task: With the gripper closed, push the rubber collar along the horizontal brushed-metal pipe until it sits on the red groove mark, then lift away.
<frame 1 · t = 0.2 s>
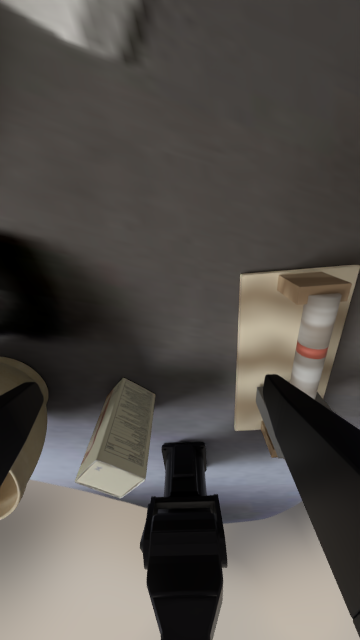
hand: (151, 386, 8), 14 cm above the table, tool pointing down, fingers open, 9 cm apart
skincare box: (132, 394, 28), on the table
collar: (296, 417, 23), point 4 cm above the table, slide at 0.0 cm
roll holder: (283, 361, 25), on the table
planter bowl: (12, 383, 27), on the table
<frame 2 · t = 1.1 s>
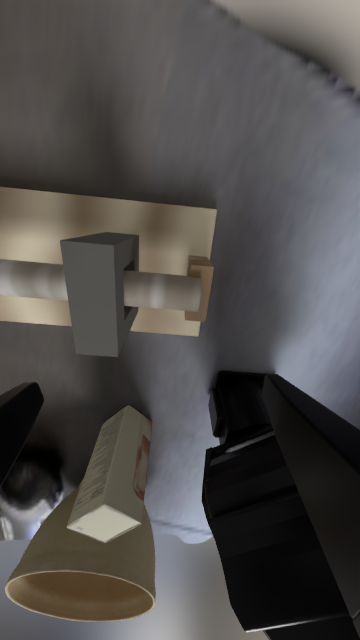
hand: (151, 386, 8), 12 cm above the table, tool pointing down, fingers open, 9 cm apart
skincare box: (129, 421, 27), on the table
collar: (111, 287, 15), point 4 cm above the table, slide at 0.0 cm
roll holder: (79, 267, 18), on the table
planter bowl: (110, 486, 33), on the table
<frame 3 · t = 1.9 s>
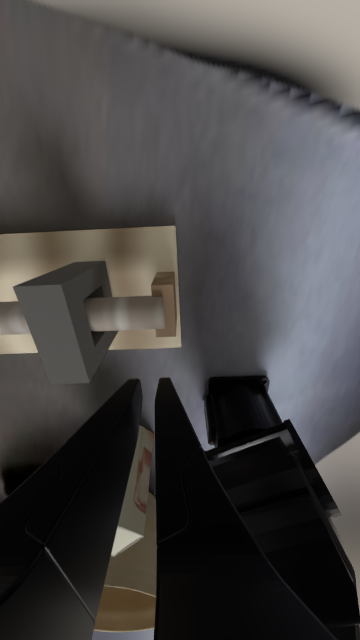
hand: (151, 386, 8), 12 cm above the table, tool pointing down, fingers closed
skincare box: (131, 434, 28), on the table
collar: (81, 315, 15), point 5 cm above the table, slide at 0.0 cm
roll holder: (58, 297, 20), on the table
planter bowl: (126, 497, 34), on the table
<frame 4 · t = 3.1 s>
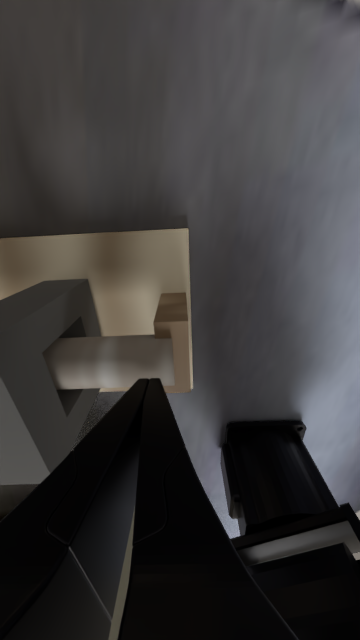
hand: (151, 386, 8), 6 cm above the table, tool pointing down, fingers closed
skincare box: (129, 483, 23), on the table
collar: (48, 363, 10), point 4 cm above the table, slide at 0.0 cm
roll holder: (27, 325, 14), on the table
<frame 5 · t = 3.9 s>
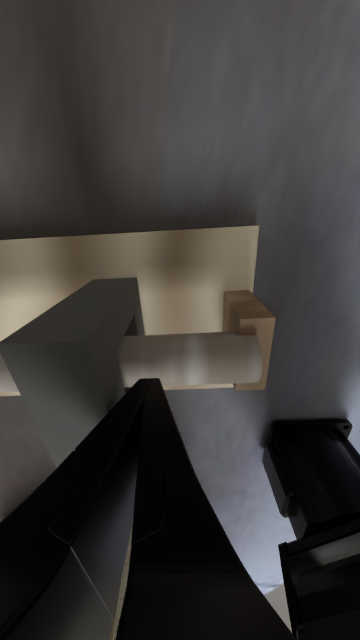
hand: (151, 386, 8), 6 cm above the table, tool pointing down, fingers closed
skincare box: (165, 482, 22), on the table
collar: (106, 362, 10), point 5 cm above the table, slide at 1.0 cm, touching gripper
roll holder: (83, 323, 14), on the table
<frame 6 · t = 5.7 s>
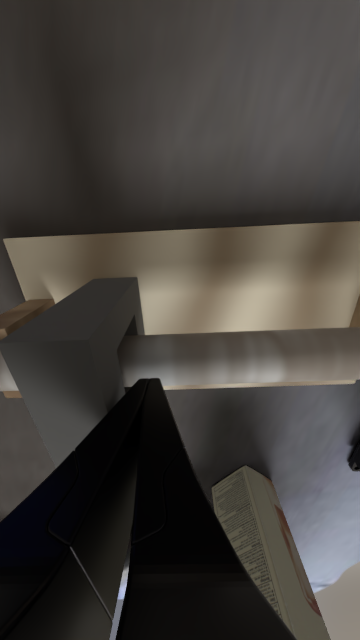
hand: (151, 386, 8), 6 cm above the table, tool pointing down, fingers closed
skincare box: (241, 480, 22), on the table
collar: (106, 361, 10), point 5 cm above the table, slide at 9.1 cm, touching gripper
roll holder: (204, 318, 14), on the table
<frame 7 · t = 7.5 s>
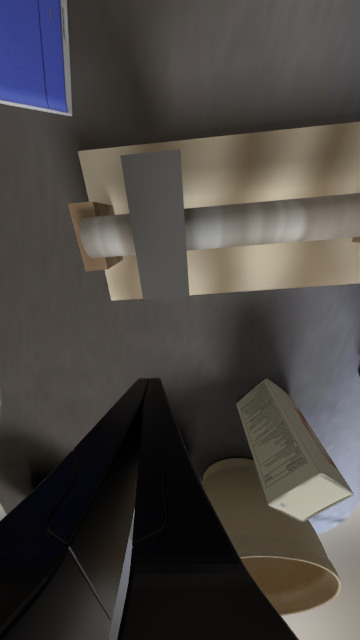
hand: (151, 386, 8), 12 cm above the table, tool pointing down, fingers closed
skincare box: (263, 397, 25), on the table
collar: (165, 232, 13), point 4 cm above the table, slide at 9.2 cm
roll holder: (233, 224, 17), on the table
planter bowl: (233, 474, 32), on the table
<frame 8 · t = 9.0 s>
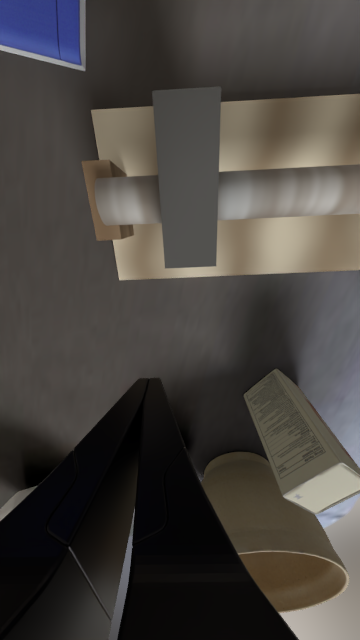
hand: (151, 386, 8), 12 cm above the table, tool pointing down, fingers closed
geodesic sphere: (59, 489, 33), on the table
skincare box: (270, 389, 24), on the table
collar: (186, 198, 12), point 4 cm above the table, slide at 9.2 cm
roll holder: (253, 200, 16), on the table
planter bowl: (235, 469, 31), on the table
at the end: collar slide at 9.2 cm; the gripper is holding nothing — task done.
